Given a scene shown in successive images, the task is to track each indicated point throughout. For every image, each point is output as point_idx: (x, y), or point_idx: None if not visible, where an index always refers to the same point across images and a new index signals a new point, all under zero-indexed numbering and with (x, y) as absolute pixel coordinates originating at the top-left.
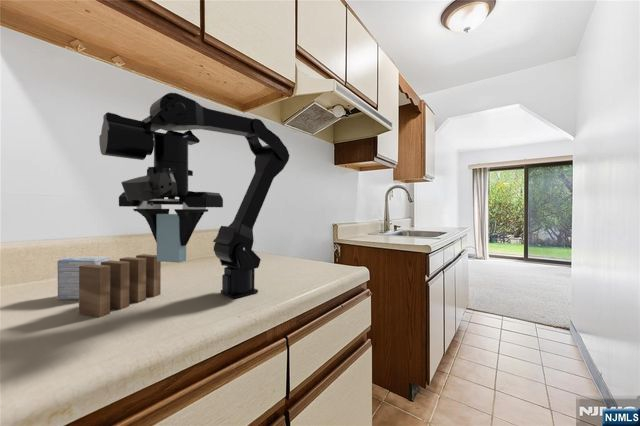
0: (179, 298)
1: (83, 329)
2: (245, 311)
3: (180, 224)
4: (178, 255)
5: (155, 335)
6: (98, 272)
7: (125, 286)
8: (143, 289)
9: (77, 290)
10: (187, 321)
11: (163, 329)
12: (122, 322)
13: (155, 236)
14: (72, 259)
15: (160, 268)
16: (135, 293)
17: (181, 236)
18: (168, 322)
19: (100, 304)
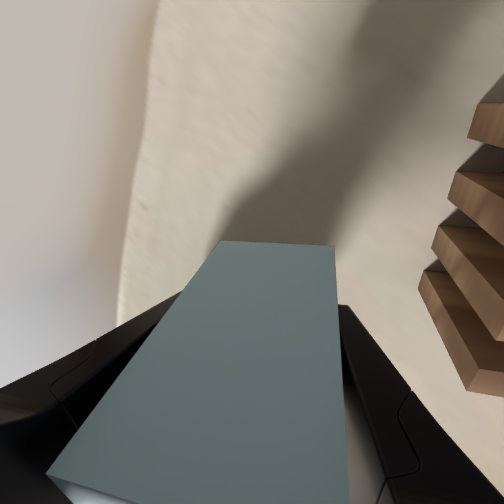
0: (340, 270)
1: (456, 12)
2: (150, 230)
3: (90, 365)
4: (213, 254)
5: (223, 66)
6: None
7: (483, 209)
8: (446, 257)
9: None
10: (216, 156)
11: (232, 101)
12: (370, 98)
13: (355, 334)
14: None
15: (445, 346)
16: (461, 238)
17: (154, 313)
18: (252, 138)
19: (499, 106)
